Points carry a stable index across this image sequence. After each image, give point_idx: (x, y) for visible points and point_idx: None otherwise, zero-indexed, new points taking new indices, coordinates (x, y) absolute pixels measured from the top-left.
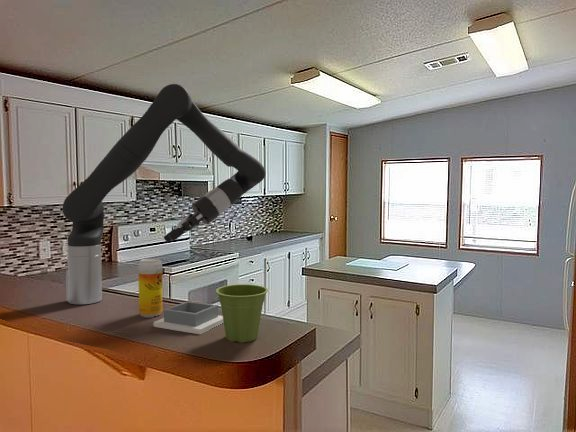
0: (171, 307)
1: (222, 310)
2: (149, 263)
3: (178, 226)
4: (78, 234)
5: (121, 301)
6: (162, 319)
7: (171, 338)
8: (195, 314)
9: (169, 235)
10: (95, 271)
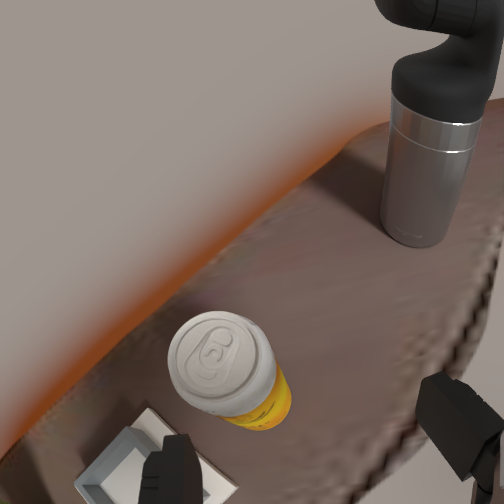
0: (141, 446)
1: (7, 502)
2: (170, 356)
3: (494, 491)
4: (412, 60)
5: (419, 295)
6: (159, 428)
7: (77, 433)
8: (74, 482)
9: (167, 437)
10: (413, 184)
